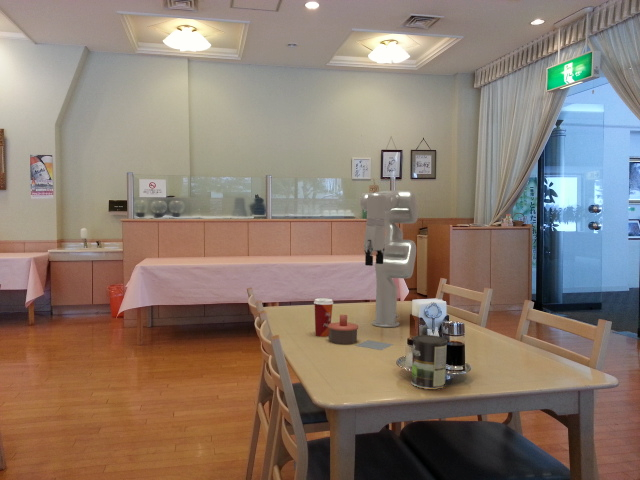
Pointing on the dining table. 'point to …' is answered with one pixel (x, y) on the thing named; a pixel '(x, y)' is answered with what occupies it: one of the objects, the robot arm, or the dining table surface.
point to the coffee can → (429, 361)
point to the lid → (343, 325)
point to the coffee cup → (323, 316)
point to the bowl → (342, 336)
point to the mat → (374, 345)
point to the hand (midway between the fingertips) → (374, 264)
